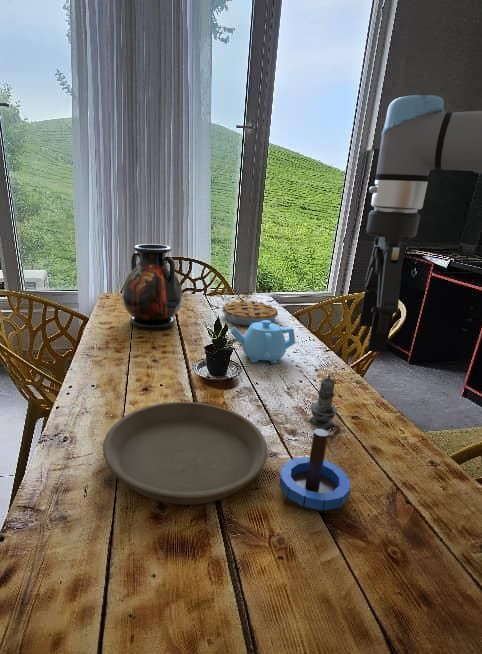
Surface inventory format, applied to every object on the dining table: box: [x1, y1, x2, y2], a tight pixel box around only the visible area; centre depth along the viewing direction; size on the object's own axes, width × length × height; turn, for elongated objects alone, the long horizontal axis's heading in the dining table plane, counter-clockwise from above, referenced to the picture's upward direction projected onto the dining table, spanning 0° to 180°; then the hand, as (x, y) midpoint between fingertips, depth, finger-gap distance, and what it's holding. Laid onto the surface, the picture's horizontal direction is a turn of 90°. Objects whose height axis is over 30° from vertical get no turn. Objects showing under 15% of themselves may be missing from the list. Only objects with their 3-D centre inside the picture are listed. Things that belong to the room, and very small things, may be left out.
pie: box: [221, 300, 279, 327], centre depth 173 cm, size 22×22×5 cm
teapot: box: [229, 320, 296, 364], centre depth 135 cm, size 20×17×12 cm
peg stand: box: [283, 428, 341, 516], centre depth 76 cm, size 9×9×12 cm
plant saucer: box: [102, 401, 268, 506], centre depth 85 cm, size 31×31×5 cm
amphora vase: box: [121, 243, 183, 331], centre depth 157 cm, size 22×22×28 cm
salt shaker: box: [309, 374, 338, 430], centre depth 99 cm, size 6×6×12 cm
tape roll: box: [278, 456, 352, 510], centre depth 78 cm, size 12×12×2 cm
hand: (370, 337), depth 78 cm, fingers open, 13 cm apart
